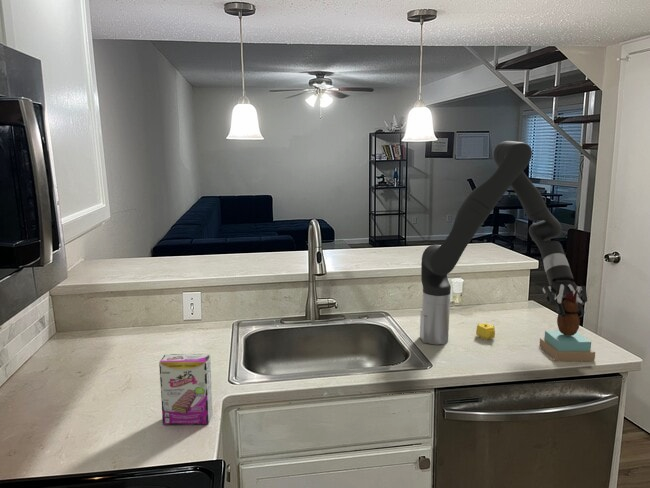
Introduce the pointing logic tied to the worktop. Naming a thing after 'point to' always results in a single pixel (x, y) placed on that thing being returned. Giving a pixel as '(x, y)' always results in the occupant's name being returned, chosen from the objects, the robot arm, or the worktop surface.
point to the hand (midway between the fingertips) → (572, 315)
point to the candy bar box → (186, 389)
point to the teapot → (485, 331)
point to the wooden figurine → (569, 316)
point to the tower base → (566, 353)
